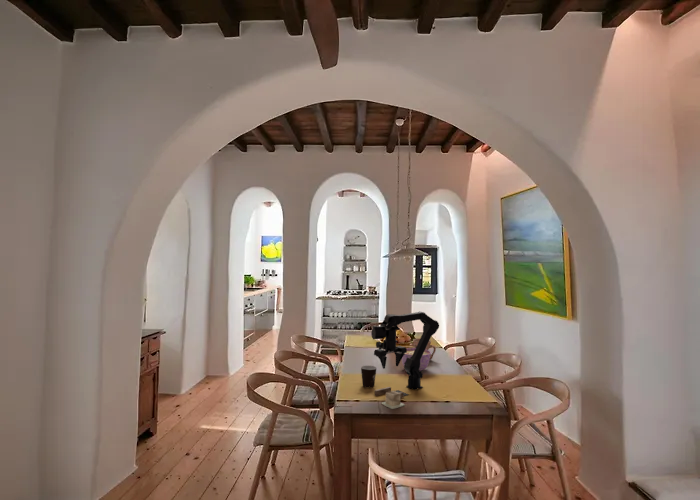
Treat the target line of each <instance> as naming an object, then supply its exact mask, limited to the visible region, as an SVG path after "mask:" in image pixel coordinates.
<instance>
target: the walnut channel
mask: <svg viewBox="0 0 700 500" xmlns="http://www.w3.org/2000/svg"><path fill="white" fill-rule="evenodd" d="M390 391H392V387H391V386H387V387H383V388H382V387H381V388H377V389H374V392H373V393H374V396H376V397H377V396H382V395H386V392H390ZM403 392H404V391H402V392H399V393H400V399H403V398H404V396H403Z"/></svg>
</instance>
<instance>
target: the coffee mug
mask: <svg viewBox="0 0 700 500" xmlns="http://www.w3.org/2000/svg"><path fill="white" fill-rule="evenodd" d="M360 371H361V381H362V382H361V383H362V387H364V388H370V389H371V388H374V387H375V383H376V376H377V375H376V374H377V366H374V365H368V364H367V365H362V366H360Z"/></svg>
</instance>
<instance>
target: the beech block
mask: <svg viewBox="0 0 700 500" xmlns="http://www.w3.org/2000/svg"><path fill="white" fill-rule="evenodd" d="M385 402H386V403H387V404H389V405H391V406H395V405H399V404H400V403H401V398H400V393H398V392H396V390H391V391H390V392H386V394H385Z"/></svg>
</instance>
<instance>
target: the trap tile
mask: <svg viewBox="0 0 700 500" xmlns="http://www.w3.org/2000/svg"><path fill="white" fill-rule="evenodd" d="M395 391H396V392H398V393H399V392H403V397H405V396H409V395H410V394H408V393H407V392H404V391H403V390H400V389H398V390H397V389H396V390H395Z"/></svg>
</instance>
